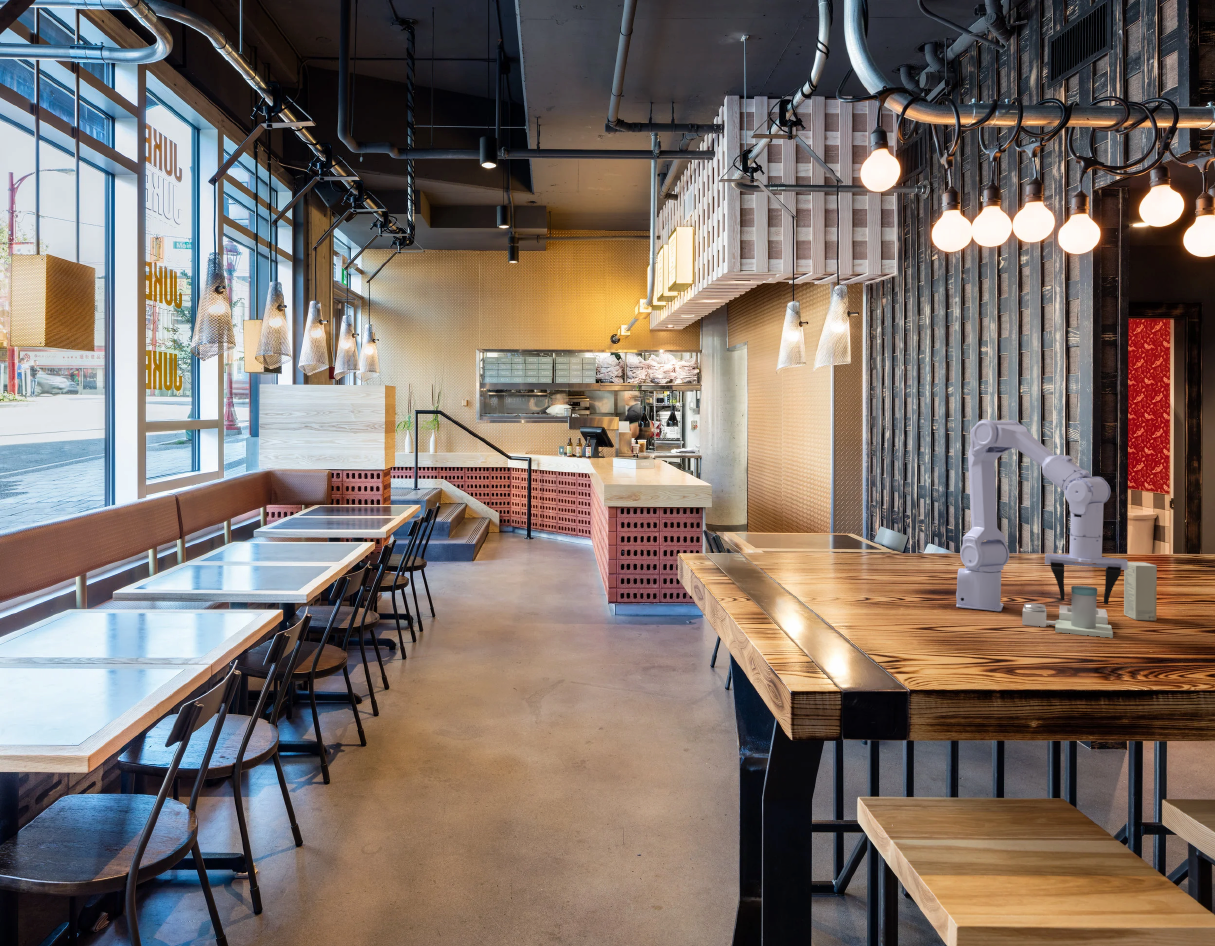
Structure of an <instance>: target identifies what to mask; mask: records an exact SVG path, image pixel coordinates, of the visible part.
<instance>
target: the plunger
mask: <svg viewBox="0 0 1215 946" xmlns="http://www.w3.org/2000/svg"><path fill="white" fill-rule="evenodd" d="M1023 607H1024V609H1025V610H1028V611H1036V612H1043V611H1045V609H1046V605H1045V604H1041V603H1035V602H1027V603H1024V605H1023Z"/></svg>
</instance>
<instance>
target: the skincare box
mask: <svg viewBox="0 0 1215 946" xmlns="http://www.w3.org/2000/svg"><path fill="white" fill-rule="evenodd" d="M1157 568H1158V565H1156V564H1152V563H1149V562H1146V561H1144V562H1143V561H1140V562H1139V561H1128V565H1127V570H1124V571H1123V577H1124V578H1123V580H1124V581H1123V614H1124V616H1126V617H1129V618H1131V619H1132V620H1136V621H1152V622H1153V621H1154V622H1155V621H1157V599H1158V598H1157V594H1158V593H1157V589H1158V588H1157V586H1158V585H1157V584H1158V582H1157V581H1158V580H1157V579H1158V577H1157V575H1158V572H1157V570H1158V569H1157Z"/></svg>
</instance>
